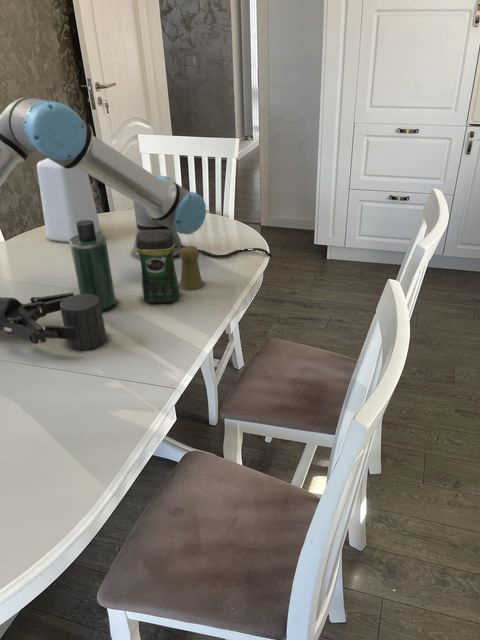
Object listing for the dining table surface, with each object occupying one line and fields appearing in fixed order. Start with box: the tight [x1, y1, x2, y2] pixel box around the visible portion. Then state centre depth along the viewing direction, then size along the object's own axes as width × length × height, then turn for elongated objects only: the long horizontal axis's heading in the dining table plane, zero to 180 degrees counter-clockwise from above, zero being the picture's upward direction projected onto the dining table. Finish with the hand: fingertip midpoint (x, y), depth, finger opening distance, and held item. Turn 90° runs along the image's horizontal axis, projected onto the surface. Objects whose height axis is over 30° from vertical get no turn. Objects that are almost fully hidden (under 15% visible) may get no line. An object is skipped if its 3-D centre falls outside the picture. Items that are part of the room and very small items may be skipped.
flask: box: [69, 220, 117, 313], centre depth 135 cm, size 8×8×22 cm
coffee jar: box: [135, 229, 181, 304], centre depth 140 cm, size 10×8×19 cm
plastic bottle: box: [36, 157, 102, 244], centre depth 179 cm, size 15×15×28 cm
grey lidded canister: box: [60, 293, 107, 351], centre depth 123 cm, size 8×8×10 cm
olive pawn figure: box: [178, 245, 203, 291], centre depth 149 cm, size 6×6×11 cm
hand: (87, 318), depth 122 cm, fingers open, 13 cm apart
